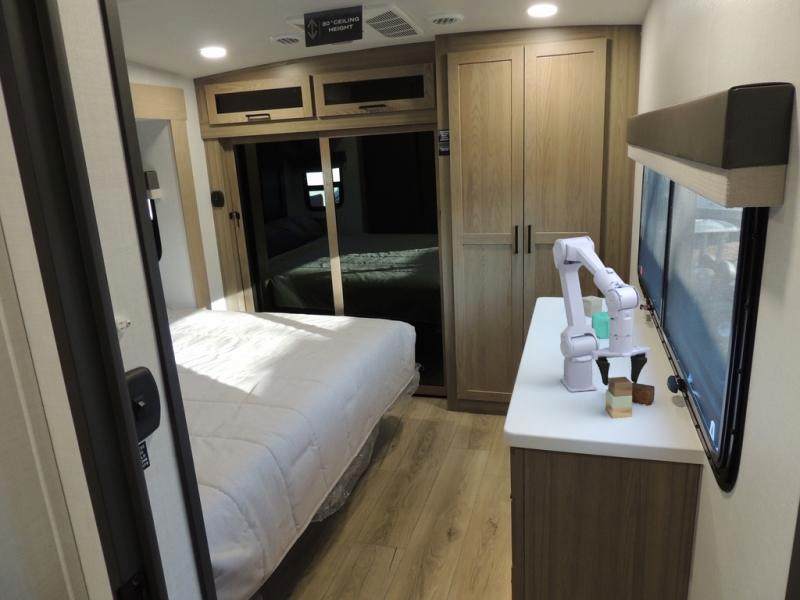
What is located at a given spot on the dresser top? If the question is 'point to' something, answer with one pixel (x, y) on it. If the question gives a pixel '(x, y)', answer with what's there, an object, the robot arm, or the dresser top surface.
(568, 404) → the dresser top surface
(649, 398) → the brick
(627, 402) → the sage block
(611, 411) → the oak block
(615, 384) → the walnut block
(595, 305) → the product box
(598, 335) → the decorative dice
